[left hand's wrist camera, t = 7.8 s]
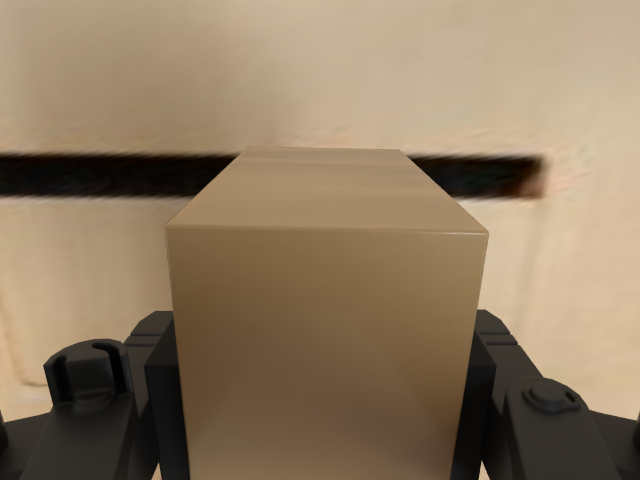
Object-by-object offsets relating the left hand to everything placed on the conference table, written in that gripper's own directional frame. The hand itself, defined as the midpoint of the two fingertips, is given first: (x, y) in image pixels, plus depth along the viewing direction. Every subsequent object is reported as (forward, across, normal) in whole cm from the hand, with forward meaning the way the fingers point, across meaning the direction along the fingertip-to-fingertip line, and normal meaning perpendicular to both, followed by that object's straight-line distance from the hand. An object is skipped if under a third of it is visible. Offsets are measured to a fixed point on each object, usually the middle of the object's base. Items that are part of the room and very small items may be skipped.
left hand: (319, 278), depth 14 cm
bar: (+1, 0, -23) cm, 23 cm away
